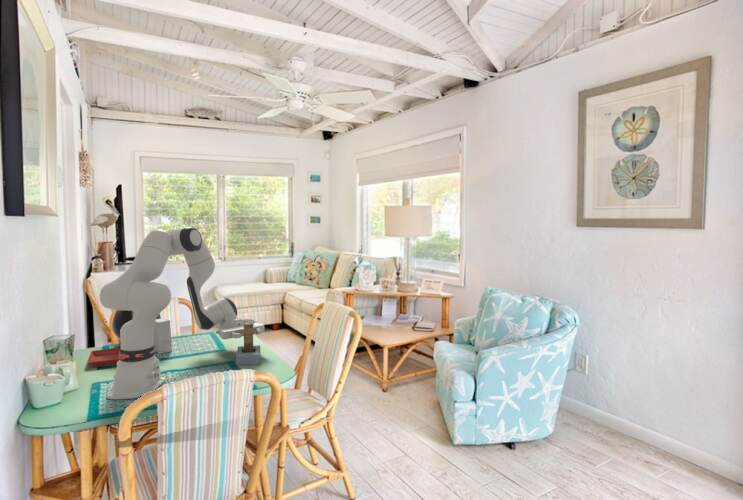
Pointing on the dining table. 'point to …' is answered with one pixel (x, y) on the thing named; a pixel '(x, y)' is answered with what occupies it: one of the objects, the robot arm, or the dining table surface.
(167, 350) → the skincare box
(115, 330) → the amphora vase
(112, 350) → the plant saucer
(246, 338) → the walnut dowel
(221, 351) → the dining table surface
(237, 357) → the socket block
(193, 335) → the dining table surface
